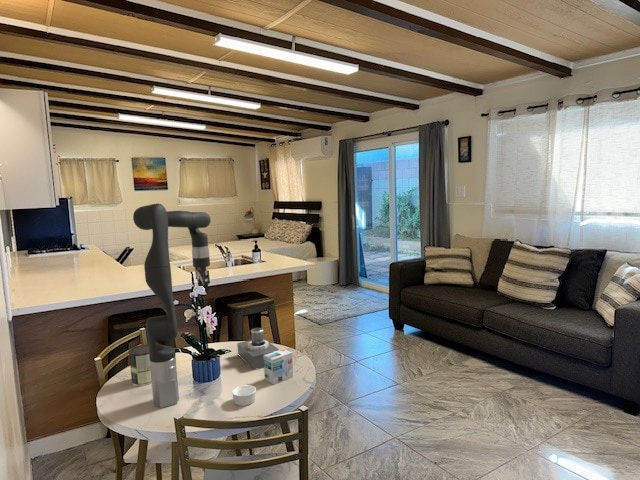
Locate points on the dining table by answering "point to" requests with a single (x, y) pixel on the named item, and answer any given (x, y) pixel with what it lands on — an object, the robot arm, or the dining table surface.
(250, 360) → the camera body
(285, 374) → the light bulb box
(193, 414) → the dining table surface
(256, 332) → the lens
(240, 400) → the ramekin
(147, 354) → the coffee can
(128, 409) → the dining table surface
